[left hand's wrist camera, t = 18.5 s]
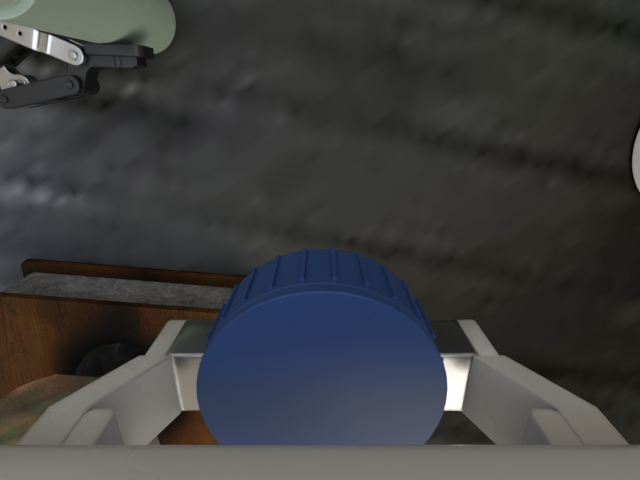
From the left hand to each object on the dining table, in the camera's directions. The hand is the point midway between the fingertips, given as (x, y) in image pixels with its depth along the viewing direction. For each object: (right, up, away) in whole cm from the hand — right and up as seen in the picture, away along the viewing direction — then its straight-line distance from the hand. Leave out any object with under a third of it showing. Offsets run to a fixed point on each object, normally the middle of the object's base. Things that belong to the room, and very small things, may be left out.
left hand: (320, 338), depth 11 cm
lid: (0, -1, -2) cm, 2 cm away
